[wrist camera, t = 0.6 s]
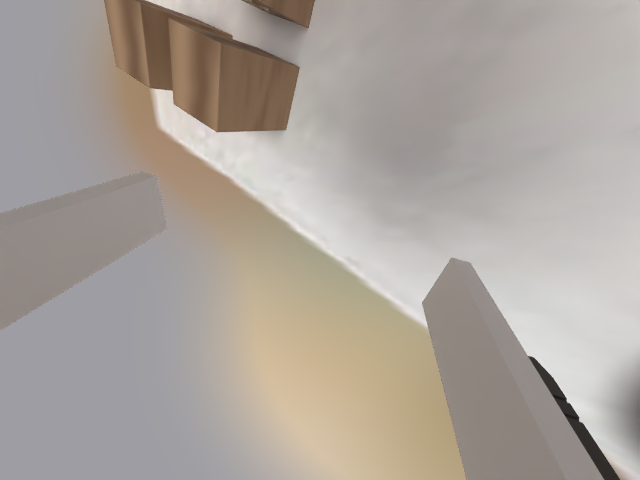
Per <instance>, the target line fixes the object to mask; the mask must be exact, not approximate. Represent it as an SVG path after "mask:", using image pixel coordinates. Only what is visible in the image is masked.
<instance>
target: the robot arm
mask: <svg viewBox="0 0 640 480" xmlns="http://www.w3.org/2000/svg"><path fill="white" fill-rule="evenodd" d="M166 229H167V225H166V219H165V214H164V208H163V203H162V198H161V192H160V187H159V182H158V177H157V176H155V175H151V174H148V173H144V172H139V173H136V174H133V175H129V176H126V177H122V178H119V179H116V180H112V181H109V182H105V183H102V184H99V185H95V186H92V187H88V188H85V189H82V190H78V191H75V192H71V193H68V194H65V195H61V196H58V197H54V198H51V199H48V200H44V201H41V202H37V203H34V204H30V205H27V206H24V207H20V208H17V209H13V210H10V211H7V212H3V213H0V330H2V329H4V328H5V327H7V326H9V325H10V324H12V323H13V322H15V321H17V320H18V319H20V318H22V317H23V316H25V315H27V314H28V313H30V312H31V311H33V310H35V309H37V308H38V307H40V306H41V305H43V304H45V303H46V302H48V301H50V300H51V299H53V298H55V297H56V296H58V295H60V294H61V293H63V292H64V291H66V290H68V289H69V288H71V287H73V286H74V285H76V284H78V283H79V282H81V281H82V280H84V279H86V278H87V277H89V276H91V275H92V274H94V273H96V272H97V271H99V270H101V269H102V268H104V267H105V266H107V265H109V264H110V263H112V262H114V261H115V260H117V259H119V258H120V257H122V256H123V255H125V254H127V253H128V252H130V251H132V250H133V249H135V248H137V247H138V246H140V245H142V244H143V243H145V242H146V241H148V240H150V239H151V238H153V237H155V236H156V235H158V234H160V233H161V232H163V231H165V230H166ZM422 305H423V309H424V313H425V317H426V321H427V325H428V328H429V332H430V336H431V340H432V344H433V348H434V352H435V356H436V360H437V364H438V368H439V372H440V376H441V380H442V384H443V388H444V392H445V396H446V400H447V404H448V408H449V412H450V416H451V420H452V424H453V428H454V432H455V436H456V440H457V443H458V448H459V452H460V456H461V460H462V464H463V468H464V472H465V475H466V479H467V480H620V479H619V477H618V476H617V474H616V473H615V471H614V470H613V468H612V467H611V465H610V464H609V462H608V461H607V459H606V457H605V456H604V454H603V453H602V451H601V450H600V448H599V447H598V445H597V444H596V442H595V441H594V439H593V438H592V436H591V435H590V433H589V432H588V430H587V429H586V427H585V426H584V424H583V423H581V422H579V417H578V415H577V414H576V412H575V411H574V409H573V408H572V406H571V404H570V403H567V401H566V399H567V398H566V397H565V395H564V394H563V392H562V391H561V389H560V388H559V386H558V385H557V383H556V382H555V380H554V379H553V377H552V376H551V375H550V374H549V373H548V372H547V371H546V370H545V369H544V368H543V367H542V366H541V365H540V364H539V363H538V361H537V360H536V359H535V358H533V357H530V356H527V354H526V352H525V351H524V349H523V347H522V346H521V344H520V343H519V341H518V339H517V338H516V336H515V335H514V333H513V331H512V330H511V328H510V326H509V325H508V323H507V322H506V320H505V318H504V317H503V315H502V313H501V312H500V310H499V309H498V307H497V305H496V304H495V302H494V301H493V299H492V297H491V296H490V294H489V292H488V291H487V289H486V288H485V286H484V284H483V283H482V281H481V279H480V278H479V276H478V275H477V273H476V271H475V270H474V268H473V267H472V265H471V263H469V262H465V261H462V260H458V259H455V258H451V259H450V261H449V262H448V264H447V265H446V267H445V268H444V270H443V272H442V273H441V275H440V276H439V278H438V279H437V281H436V282H435V284H434V285H433V287H432V288H431V290H430V291H429V293H428V295H427V296H426V298H425V299H424V301H423V302H422Z"/></svg>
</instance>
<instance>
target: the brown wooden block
mask: <svg viewBox="0 0 640 480" xmlns="http://www.w3.org/2000/svg"><path fill="white" fill-rule="evenodd" d="M168 22H169V38H170V53H171V69H172V84H173V100H174V105H176V106H177V107H179V108H180V109H182V110H184V111H185V112H187V113H188V114H190V115H191V116H193V117H194V118H196V119H197V120H199V121H200V122H202V123H204V124H205V125H207V126H208V127H210V128H211V129H213V130H214V131H216V132H239V131H270V130H286V128H287V123H288V118H289V114H290V109H291V105H292V100H293V96H294V91H295V87H296V82H297V77H298V73H299V68H300V67H298V66H296V65H293V64H291V63H289V62H287V61H285V60H283V59H280V58H278V57H276V56H274V55H272V54H270V53H267V52H265V51H263V50H261V49H259V48H257V47H254V46H251V45H248V44H245V43H242V42H239V41H236V40H233V39H230V38H227V37H224V36H221V35H218V34H215V33H212V32H209V31H206V30H203V29H200V28H197V27H194V26H191V25H188V24H185V23H182V22H180V21H177V20H174V19H171V18H168Z"/></svg>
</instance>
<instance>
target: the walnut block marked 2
mask: <svg viewBox="0 0 640 480" xmlns="http://www.w3.org/2000/svg"><path fill="white" fill-rule="evenodd" d="M243 1H245V2H246V3H248V4H251V5H253V6H255V7H257V8H259V9H261V10H264V11H266V12H269V13H271V14H274V15H277V16H279V17H282V18H284V19H287V20H289V21H292V22H294V23H297V24H299V25H302V26H304V27H307V28H309V24H310V19H311V15H312V10H313V6H314V1H315V0H243Z"/></svg>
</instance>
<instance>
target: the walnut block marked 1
mask: <svg viewBox="0 0 640 480" xmlns="http://www.w3.org/2000/svg"><path fill="white" fill-rule="evenodd" d="M104 2H105V8H106V13H107V18H108V24H109V29H110V35H111V40H112V45H113V51H114V56H115V61H116V66H117V67H118V68H120V69H121V70H123V71H124V72H126V73H128V74H129V75H131V76H132V77H134V78H135V79H137V80H138V81H140V82H142V83H143V84H144V85H146V86H148V87H149V88H154V89H163V90H172V91H173V84H172V69H171V53H170V38H169V22H168V18H171V19H174V20H177V21H180V22H182V23H185V24H188V25H191V26H194V27H197V28H200V29H203V30H206V31H209V32H212V33H215V34H218V35H221V36H224V37H227V38H230V39H232V35H230V34H228V33H225V32H223V31H221V30H219V29H217V28H215V27H212V26H210V25H208V24H206V23H204V22H202V21H199V20H197V19H194V18H192V17H189V16H186V15H183V14H181V13H178V12H175V11H173V10H170V9H167V8H164V7H162V6H159V5H156V4H153V3H151V2H148V1H145V0H104Z"/></svg>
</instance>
